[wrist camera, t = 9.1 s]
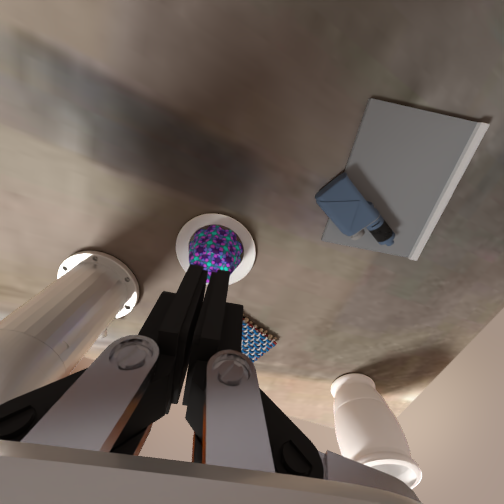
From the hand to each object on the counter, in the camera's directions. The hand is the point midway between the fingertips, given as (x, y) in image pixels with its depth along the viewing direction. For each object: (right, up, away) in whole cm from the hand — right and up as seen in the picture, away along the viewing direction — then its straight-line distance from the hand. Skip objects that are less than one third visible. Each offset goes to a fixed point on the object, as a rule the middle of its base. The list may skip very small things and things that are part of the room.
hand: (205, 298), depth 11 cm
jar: (+22, -25, +40) cm, 52 cm away
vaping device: (+12, +11, +22) cm, 27 cm away
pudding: (-3, +2, +29) cm, 29 cm away
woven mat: (0, -14, +36) cm, 39 cm away
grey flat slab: (+20, +11, +23) cm, 33 cm away
